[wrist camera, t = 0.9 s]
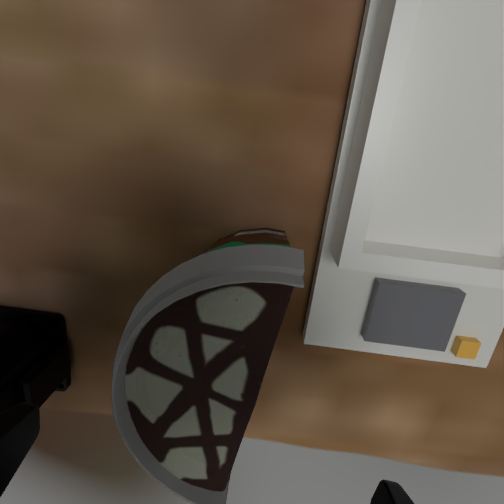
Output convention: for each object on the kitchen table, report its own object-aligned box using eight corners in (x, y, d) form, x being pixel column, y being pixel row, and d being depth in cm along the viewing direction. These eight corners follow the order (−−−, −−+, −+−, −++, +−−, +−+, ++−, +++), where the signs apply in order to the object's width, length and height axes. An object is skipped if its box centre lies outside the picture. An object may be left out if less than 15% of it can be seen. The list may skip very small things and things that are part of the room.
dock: (302, 335, 22) (307, 368, 19) (390, -125, 14) (426, -205, 11) (477, 358, 22) (513, 396, 19) (664, -97, 14) (786, -171, 11)
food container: (192, 181, 19) (115, 218, 10) (291, 208, 19) (309, 270, 10) (160, 348, 23) (82, 489, 14) (242, 369, 23) (221, 522, 14)
